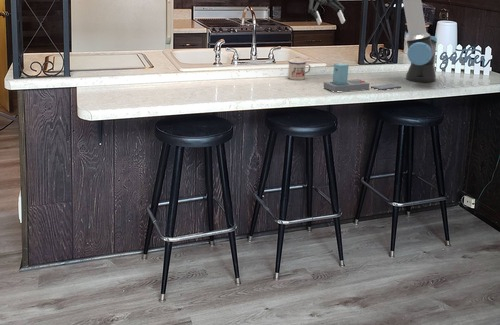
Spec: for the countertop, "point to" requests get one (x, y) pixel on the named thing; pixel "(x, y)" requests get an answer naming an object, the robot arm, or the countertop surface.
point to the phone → (385, 87)
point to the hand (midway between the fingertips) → (331, 22)
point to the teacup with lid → (297, 68)
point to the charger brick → (340, 74)
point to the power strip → (350, 85)
